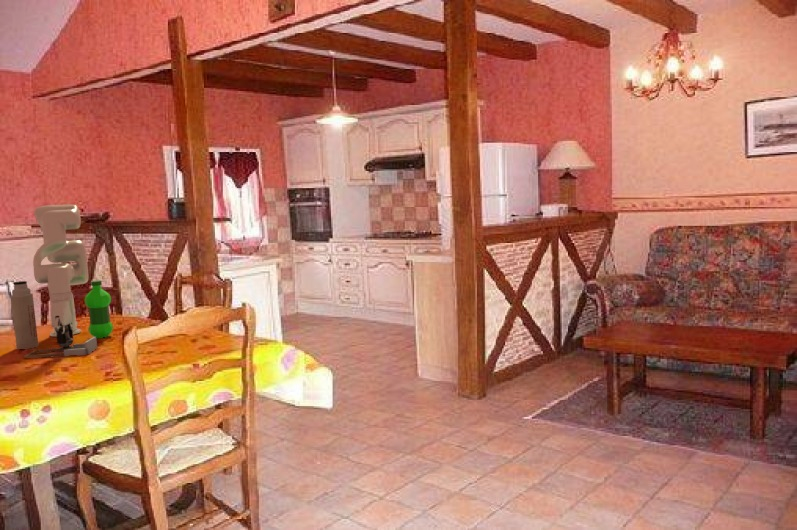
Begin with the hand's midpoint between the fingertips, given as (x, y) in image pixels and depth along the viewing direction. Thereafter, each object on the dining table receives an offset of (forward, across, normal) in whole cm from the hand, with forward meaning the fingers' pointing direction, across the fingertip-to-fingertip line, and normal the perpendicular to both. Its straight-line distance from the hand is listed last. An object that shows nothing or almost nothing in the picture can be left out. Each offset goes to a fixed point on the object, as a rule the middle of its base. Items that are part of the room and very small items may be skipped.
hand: (65, 341), depth 261 cm
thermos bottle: (+5, -16, -22) cm, 28 cm away
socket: (+5, 0, +5) cm, 7 cm away
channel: (+5, 0, -6) cm, 8 cm away
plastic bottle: (+5, -28, +4) cm, 29 cm away
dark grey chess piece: (+3, 0, 0) cm, 3 cm away
